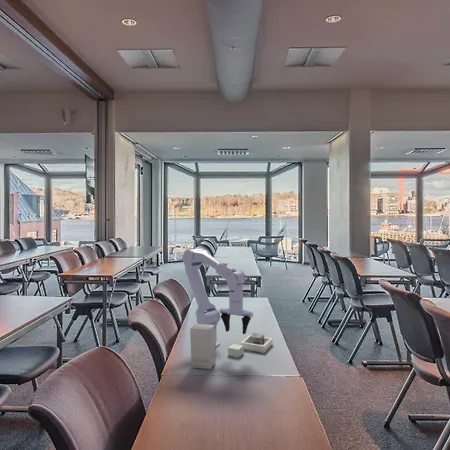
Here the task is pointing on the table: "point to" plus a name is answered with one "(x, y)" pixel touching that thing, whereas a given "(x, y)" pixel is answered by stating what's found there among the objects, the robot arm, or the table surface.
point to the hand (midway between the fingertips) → (235, 332)
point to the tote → (257, 347)
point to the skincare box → (202, 346)
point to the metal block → (257, 339)
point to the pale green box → (235, 350)
